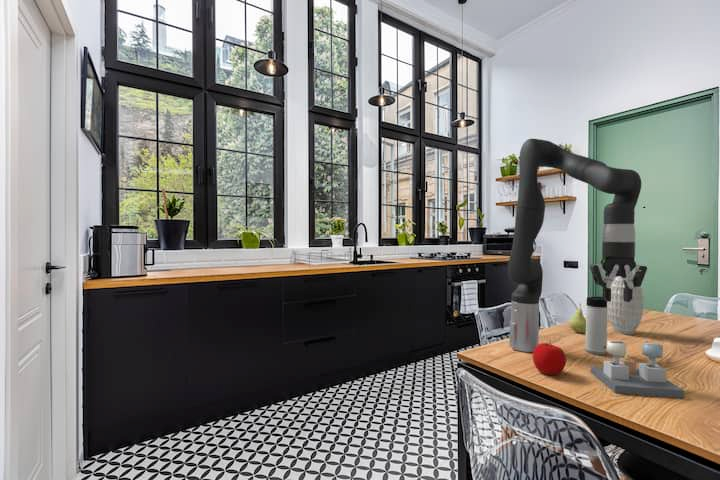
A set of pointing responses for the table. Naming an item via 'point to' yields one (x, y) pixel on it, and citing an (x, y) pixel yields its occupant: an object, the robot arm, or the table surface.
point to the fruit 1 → (549, 359)
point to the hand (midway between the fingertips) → (617, 301)
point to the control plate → (637, 380)
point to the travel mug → (596, 326)
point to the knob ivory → (616, 350)
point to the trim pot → (629, 364)
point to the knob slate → (652, 352)
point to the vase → (624, 308)
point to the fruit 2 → (578, 322)
